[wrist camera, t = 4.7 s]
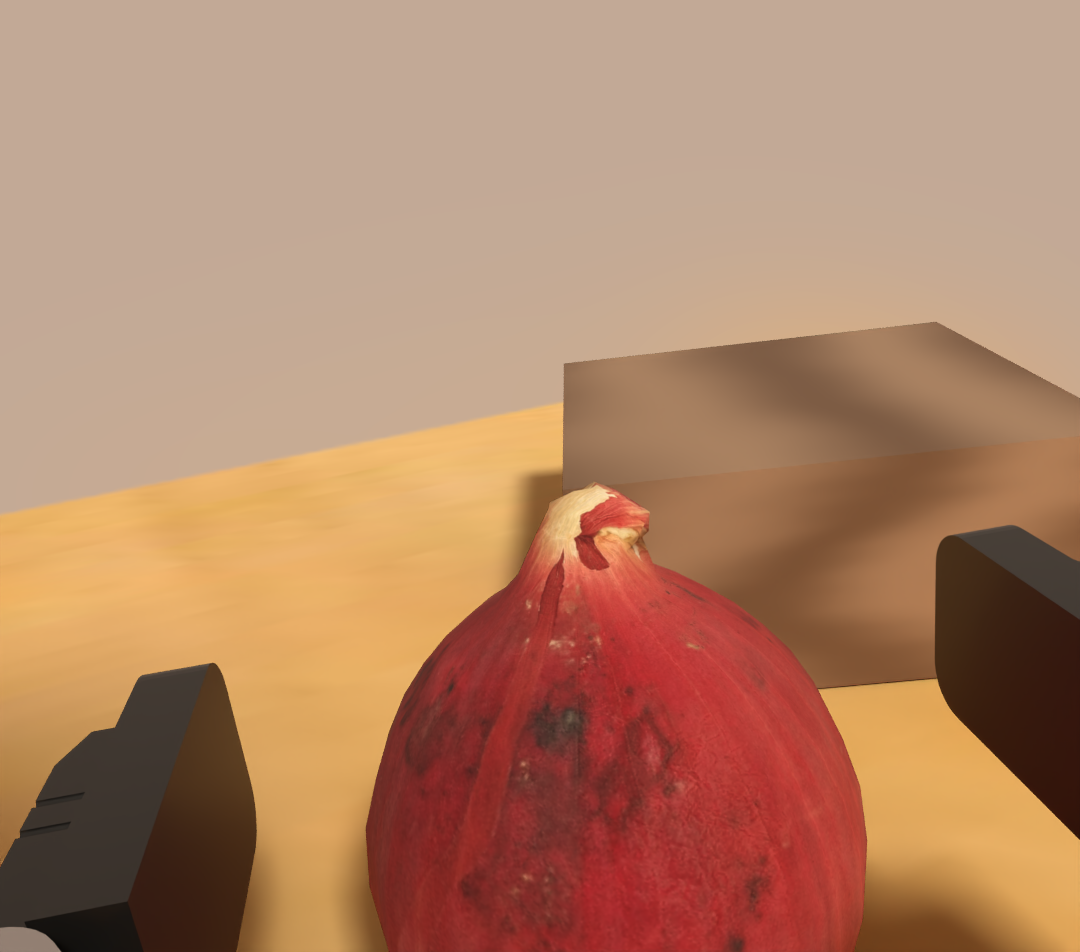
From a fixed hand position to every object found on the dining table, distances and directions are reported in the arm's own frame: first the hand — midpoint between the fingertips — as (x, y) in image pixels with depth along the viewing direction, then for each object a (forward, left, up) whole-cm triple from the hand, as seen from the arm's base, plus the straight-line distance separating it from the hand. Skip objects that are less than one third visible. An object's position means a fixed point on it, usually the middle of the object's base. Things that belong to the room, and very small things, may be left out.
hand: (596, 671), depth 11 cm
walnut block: (+5, +14, -6) cm, 16 cm away
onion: (0, 0, -6) cm, 6 cm away
